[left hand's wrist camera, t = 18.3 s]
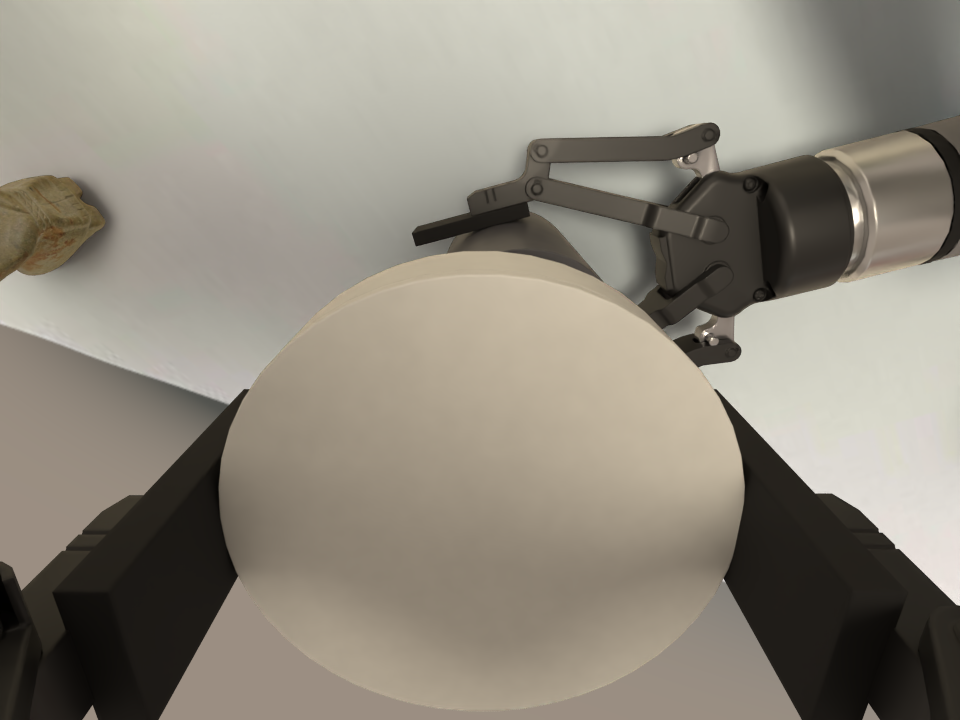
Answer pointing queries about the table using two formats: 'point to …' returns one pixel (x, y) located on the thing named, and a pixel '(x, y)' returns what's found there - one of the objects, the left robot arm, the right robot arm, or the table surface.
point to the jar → (524, 242)
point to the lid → (481, 485)
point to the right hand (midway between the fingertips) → (440, 315)
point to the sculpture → (43, 224)
